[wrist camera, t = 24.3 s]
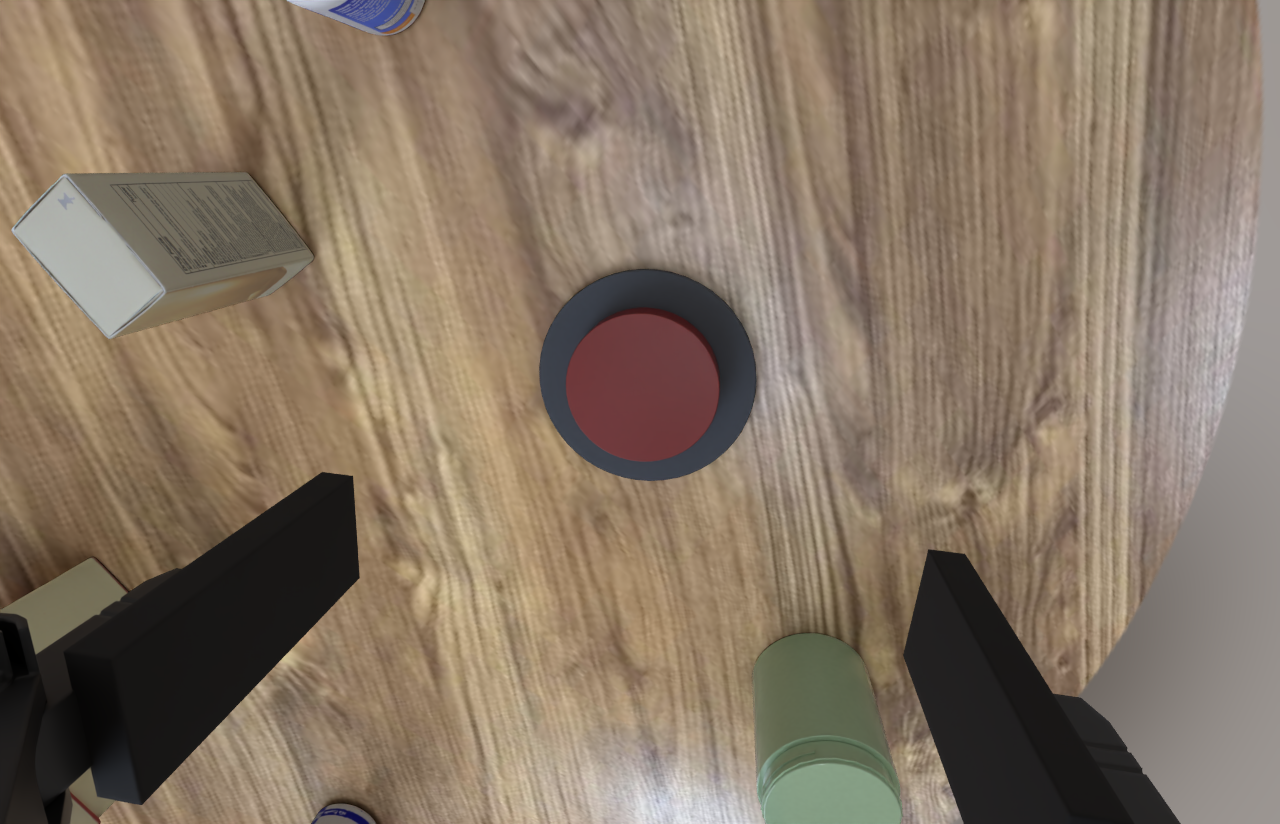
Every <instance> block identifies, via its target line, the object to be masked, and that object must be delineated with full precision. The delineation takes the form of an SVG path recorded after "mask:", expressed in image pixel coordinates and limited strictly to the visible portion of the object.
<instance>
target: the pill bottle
mask: <svg viewBox="0 0 1280 824" xmlns="http://www.w3.org/2000/svg"><path fill="white" fill-rule="evenodd" d="M287 1H289V2H291V3H293V4H295V5H297V6H300V7H302V8H305V9H308V10H310V11H313V12H316V13H318V14H321V15H324V16H326V17H329V18H332V19H334V20H337V21H340V22H342V23H345V24H347V25H350V26H352V27H355V28H357V29H359V30H362V31H365V32H368V33H371V34H375V35H382V36H383V35H393V34H397V33H399V32H401V31H403V30H405V29H406V28H408V27H409V26H410V25H411V24H412V23H413V22H414V21H415V20H416V18H417V17H418V15H419V13H420V12H421V10H422V7H423V5H424V2H425V0H287Z"/></svg>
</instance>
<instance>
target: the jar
mask: <svg viewBox="0 0 1280 824" xmlns="http://www.w3.org/2000/svg"><path fill="white" fill-rule="evenodd" d="M752 694H753V716H754V738H755V760H756V782H757V794H758V798H759V802H760V804H761V810H762V815H763V818H764V820H765V824H901V819H902V816H903V815H902V802H901V799H900V784H899V780H898V776H897V772H896V769H895V765H894V762H893V758H892V755H891V751H890V748H889V744H888V741H887V737H886V734H885V730H884V727H883V723H882V720H881V716H880V713H879V709H878V705H877V702H876V698H875V695H874V691H873V688H872V684H871V681H870V677H869V674H868V671H867V668H866V665H865V663H864V661H863V660H862V658H861V657H860V656H859V654H858V653H857V652H856V651H855V650H854V649H853V648H851V647H850V646H849V645H847V644H846V643H844V642H842V641H841V640H838V639H836V638H834V637H831V636H827V635H823V634H816V633H802V634H795V635H791V636H788V637H785V638H782V639H780V640H778V641H776V642H774V643H773V644H771V645H770V646H769V647H768V648H767V649H765V650H764V651H763V653H762V654H761V655H760V656H759V658H758V660H757V661H756V663H755V666H754V669H753V673H752Z"/></svg>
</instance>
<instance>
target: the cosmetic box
mask: <svg viewBox="0 0 1280 824" xmlns="http://www.w3.org/2000/svg"><path fill="white" fill-rule="evenodd" d="M12 232H13V234H14V235H15V236H16V237H17V238H18V240H19V241H20V242H21V243H22V245H23V246H24V247H25V248H26V249H27V250H28V251H29V253H30V254H31V255H32V256H33V257H34V258H35V260H36V261H37V262H38V263H39V264H40V265H41V267H42V268H43V269H44V270H45V271H46V272H47V273H48V274H49V276H50V277H51V278H52V279H53V280H54V281H55V282H56V283H57V284H58V285H59V287H60V288H61V289H62V290H63V291H64V292H65V293H66V294H67V295H68V296H69V297H70V298H71V300H72V301H73V302H74V303H75V304H76V305H77V306H78V307H79V308H80V309H81V310H82V312H83V313H84V314H85V315H86V316H87V317H88V318H89V319H90V320H91V321H92V322H93V323H94V324H95V325H96V326H97V327H98V328H99V329H100V330H101V331H102V333H103V334H104V335H105V336H106V337H107V338H109V339H112V338H116V337H119V336H123V335H126V334H130V333H134V332H137V331H141V330H144V329H148V328H152V327H155V326H159V325H163V324H166V323H170V322H173V321H177V320H181V319H184V318H188V317H192V316H195V315H199V314H202V313H206V312H210V311H213V310H217V309H220V308H224V307H227V306H231V305H235V304H238V303H242V302H245V301H249V300H253V299H256V298H260V297H264V296H267V295H270V294H271V293H273V292H274V291H275V290H277V289H278V288H279V287H281V286H282V285H283V284H285V283H286V282H287V281H289V280H290V279H291V278H292V277H293V276H295V275H296V274H297V273H298V272H300V271H301V270H302V269H303V268H304V267H306V266H307V265H308V264H309V263H310V262H311V261H312V260H313V259H314V256H313V254H312V252H311V251H310V250H309V249H308V247H307V246H306V244H305V243H304V242H303V241H302V239H301V238H300V237H299V235H298V234H297V233H296V231H295V230H294V229H293V228H292V226H291V225H290V224H289V223H288V221H287V220H286V219H285V218H284V216H283V215H282V214H281V213H280V211H279V210H278V209H277V208H276V206H275V205H274V204H273V203H272V201H271V200H270V199H269V198H268V197H267V195H266V194H265V193H264V192H263V191H262V189H261V188H260V187H259V186H258V185H257V183H256V182H255V181H254V180H253V179H252V177H251V176H250V175H249V174H248V173H246V172H195V173H90V174H63V175H62V176H61V177H60V178H59V179H58V180H57V181H56V182H55V183H54V184H53V185H52V186H51V187H50V188H49V189H48V190H47V191H46V192H45V193H44V194H43V195H42V196H41V197H40V198H39V199H38V200H37V201H36V202H35V203H34V204H33V205H32V206H31V207H30V208H29V209H28V210H27V211H26V212H25V214H24V215H23V216H22V217H21V218H20V220H19V221H18V222H17V223H16V224H15V225H14V226H13V228H12Z"/></svg>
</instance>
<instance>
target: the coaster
mask: <svg viewBox="0 0 1280 824" xmlns="http://www.w3.org/2000/svg"><path fill="white" fill-rule="evenodd" d="M645 307H647V308H657V309H661V310H665V311H668V312H671V313H673V314H676V315H678V316H680V317H682V318H683V319H685V320H687V321H688V322H689V323H691V324H692V325H693V326H694V327H695V328H697V329H698V330H699V331H700V332H701V334H702V335H703V336H704V337H705V338H706V340H707V341H708V343H709V345H710V346H711V348H712V350H713V352H714V354H715V357H716V360H717V363H718V367H719V374H720V393H719V402H718V406H717V410H716V413H715V416H714V418H713V421H712V423H711V424H710V426H709V428H708V429H707V431H706V432H705V433H704V435H703V436H702V437H701V438H700V439H699V440H698V441H697V442H696V443H695V444H694V445H692V446H691V447H690V448H688V449H687V450H685V451H684V452H682V453H680V454H678V455H675V456H673V457H670V458H667V459H663V460H659V461H651V462H640V461H632V460H627V459H623V458H620V457H617V456H615V455H612V454H610V453H608V452H606V451H604V450H603V449H601V448H600V447H598V446H597V445H596V444H594V443H593V442H592V441H591V440H590V439H589V438H588V437H587V436H586V435H585V434H584V433H583V431H582V430H581V429H580V427H579V426H578V424H577V423H576V421H575V419H574V417H573V415H572V413H571V410H570V407H569V404H568V400H567V395H566V375H567V370H568V365H569V362H570V359H571V357H572V355H573V353H574V351H575V349H576V347H577V346H578V344H579V343H580V341H581V340H582V339H583V338H584V337H585V336H586V335H587V334H588V333H589V331H590V330H591V329H592V328H593V327H594V326H596V325H597V324H598V323H599V322H600V321H602V320H604V319H605V318H607V317H608V316H610V315H612V314H615V313H617V312H620V311H623V310H626V309H632V308H645ZM539 371H540V386H541V392H542V397H543V400H544V404H545V407H546V410H547V412H548V414H549V416H550V419H551V421H552V422H553V424H554V426H555V427H556V429H557V431H558V432H559V434H560V435H561V436H562V437H563V439H564V440H565V441H566V443H567V444H568V445H569V446H570V447H571V448H572V449H573V450H574V451H575V452H576V453H578V454H579V455H580V456H582V457H583V458H584V459H585V460H587V461H588V462H590V463H592V464H593V465H595V466H597V467H598V468H600V469H603V470H605V471H607V472H609V473H612V474H615V475H618V476H621V477H625V478H630V479H635V480H647V481H655V480H667V479H672V478H678V477H681V476H684V475H687V474H690V473H693V472H695V471H697V470H699V469H701V468H703V467H705V466H707V465H708V464H710V463H711V462H713V461H714V460H716V459H717V458H718V457H719V456H721V455H722V454H723V453H724V452H725V451H726V450H727V449H728V448H729V447H730V446H731V445H732V444H733V443H734V441H735V440H736V438H737V437H738V436H739V434H740V433H741V431H742V429H743V428H744V426H745V424H746V422H747V420H748V417H749V415H750V412H751V409H752V406H753V402H754V397H755V391H756V365H755V360H754V355H753V350H752V347H751V344H750V341H749V338H748V335H747V333H746V331H745V330H744V328H743V326H742V324H741V322H740V321H739V319H738V318H737V316H736V315H735V313H734V312H733V311H732V310H731V308H730V307H729V306H728V305H727V304H726V303H725V302H724V301H723V300H722V299H721V298H720V297H719V296H717V295H716V294H715V293H714V292H713V291H711V290H710V289H708V288H707V287H705V286H704V285H702V284H700V283H699V282H697V281H694V280H692V279H690V278H688V277H686V276H683V275H679V274H676V273H673V272H668V271H662V270H655V269H637V270H627V271H623V272H619V273H615V274H612V275H609V276H606V277H604V278H601V279H599V280H597V281H595V282H594V283H592V284H590V285H588V286H587V287H585V288H584V289H583V290H581V291H580V292H579V293H577V294H576V295H575V296H573V297H572V298H571V299H570V300H569V301H568V302H567V303H566V304H565V305H564V307H563V308H562V309H561V311H560V312H559V313H558V315H557V316H556V317H555V319H554V321H553V323H552V324H551V326H550V328H549V330H548V333H547V335H546V338H545V340H544V344H543V348H542V352H541V358H540V367H539Z"/></svg>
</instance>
